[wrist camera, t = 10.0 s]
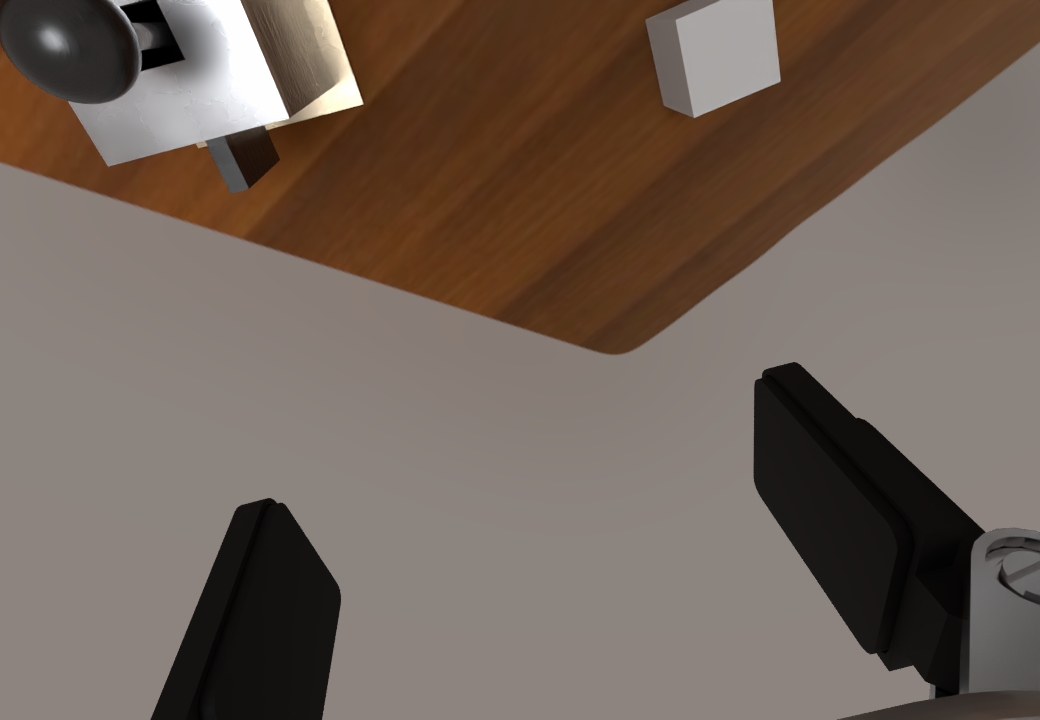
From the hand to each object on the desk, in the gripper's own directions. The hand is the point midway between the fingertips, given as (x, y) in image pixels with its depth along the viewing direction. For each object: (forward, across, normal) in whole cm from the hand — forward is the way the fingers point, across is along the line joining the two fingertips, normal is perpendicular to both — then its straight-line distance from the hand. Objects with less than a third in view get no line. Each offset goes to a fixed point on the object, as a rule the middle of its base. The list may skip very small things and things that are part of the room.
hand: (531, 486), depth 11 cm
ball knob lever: (+31, +12, -10) cm, 35 cm away
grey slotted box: (+36, +12, -10) cm, 40 cm away
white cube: (+37, -18, -2) cm, 41 cm away
